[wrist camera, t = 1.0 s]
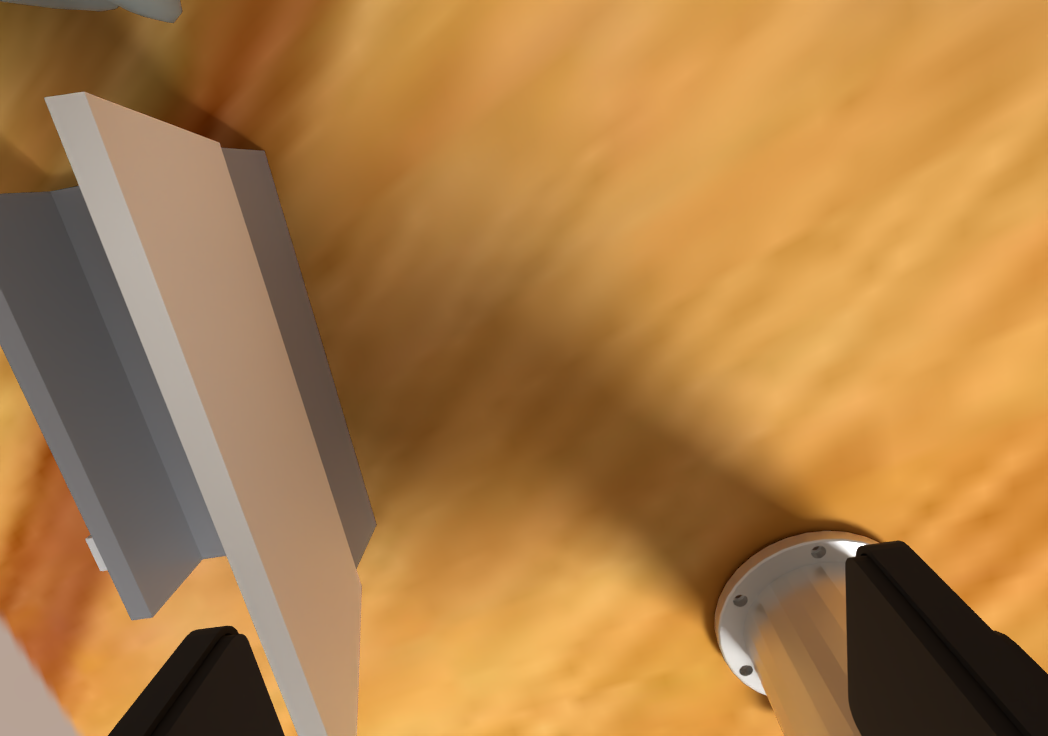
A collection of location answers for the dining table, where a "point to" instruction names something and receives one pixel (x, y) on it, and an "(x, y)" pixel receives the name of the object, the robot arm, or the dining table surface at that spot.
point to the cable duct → (146, 385)
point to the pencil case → (115, 6)
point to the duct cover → (226, 390)
